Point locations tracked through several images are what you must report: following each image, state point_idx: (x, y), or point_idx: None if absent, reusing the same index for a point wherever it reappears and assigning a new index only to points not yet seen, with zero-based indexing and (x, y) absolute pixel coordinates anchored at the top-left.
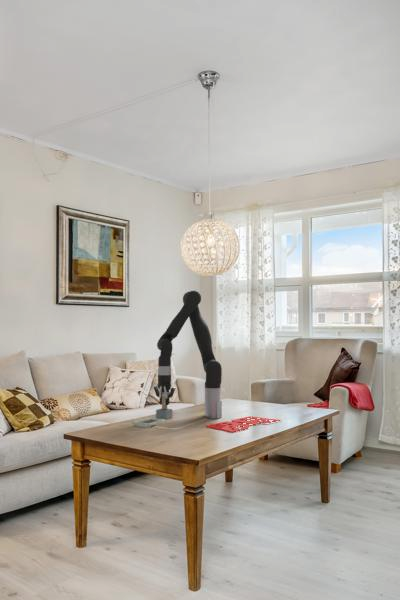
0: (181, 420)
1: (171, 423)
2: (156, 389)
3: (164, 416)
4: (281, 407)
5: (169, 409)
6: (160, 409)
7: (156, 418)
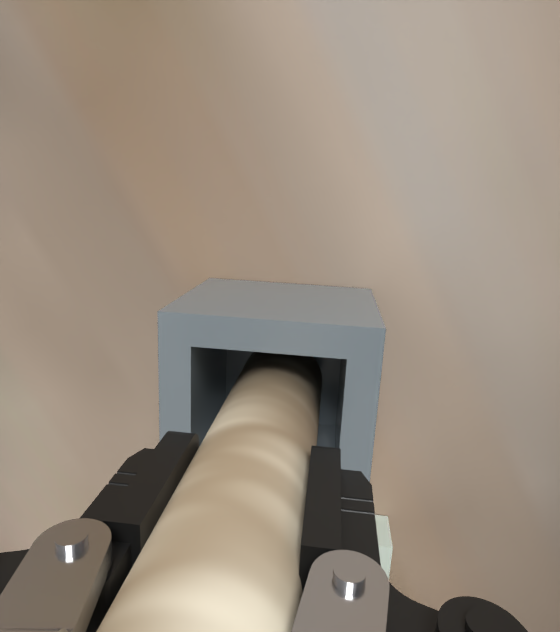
0: (521, 282)
1: (473, 517)
2: None
3: None
4: None
5: (358, 397)
6: (192, 425)
7: None
